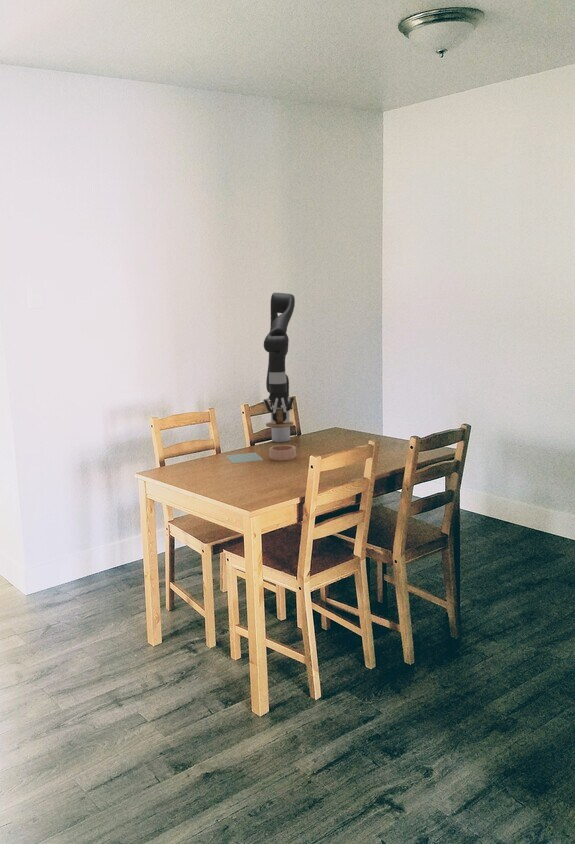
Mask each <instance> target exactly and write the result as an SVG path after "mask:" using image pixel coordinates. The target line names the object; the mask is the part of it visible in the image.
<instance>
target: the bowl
mask: <svg viewBox="0 0 575 844" xmlns="http://www.w3.org/2000/svg"><path fill="white" fill-rule="evenodd" d="M296 449H297V448H296V446H295V445H291V444H279V445H278V444H277V445H273V446H270V447H269V449H268V451H269V458H270V459H271V461H277V462H278V461H291V460H293V459H295V458H296V456H297V455H296V454H297V453H296V451H297V450H296Z"/></svg>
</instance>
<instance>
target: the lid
mask: <svg viewBox="0 0 575 844" xmlns="http://www.w3.org/2000/svg"><path fill="white" fill-rule="evenodd" d="M276 420H277V421H276V422H271V421H269V422H267V423H265V427H266V428H284V427H290V428H291V427H293V426H294V422H293V421H283V409H276Z"/></svg>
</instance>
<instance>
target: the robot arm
mask: <svg viewBox="0 0 575 844" xmlns="http://www.w3.org/2000/svg"><path fill="white" fill-rule="evenodd" d="M295 302H296V300H295V296H294V294H292V293H285V292H273V293H272V294H271V296H270V327H269V328H270V329H269V333H267V335H266V336H265V338H264V340H263V348H264V350H265V351H266V352H267V353H268V365H267V372H266V373H267V374H266V382H265V386H266V391H267V392H268V394H269V396H268V397H267V398H264V399H263V403H264V405H265V408H266V410H267V412H269V413H270V422H276V421H277V420H276V409H283V421H290V420H291V419H290V411H291V409H292V406H293V403H294V401H295V398H294V397H292V396H290V393H289V392H290V380H289V376H288V375H287V374H286V356H287V354H288V352H289V341H290V339H289V336H288V334H287V332H288V326H289V323H290V321H291V318H292V315H293V313H294V311H295V310H294V309H295V305H296V304H295ZM278 314H279V315H278ZM290 422H291V421H290ZM290 440H291V426H290V427H284V428H271V442H275V443H285V442H289V441H290Z"/></svg>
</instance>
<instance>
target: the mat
mask: <svg viewBox="0 0 575 844" xmlns="http://www.w3.org/2000/svg"><path fill="white" fill-rule="evenodd" d="M225 457H226V458H227V459H228V460H229V461H230V463H232V464H239V463H251V462H257V461H264V459H263V458H262V456H260V455H259V454H257V452H250V453H249V452H248V453H239V454H238V453H237V454H227V455H225Z"/></svg>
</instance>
